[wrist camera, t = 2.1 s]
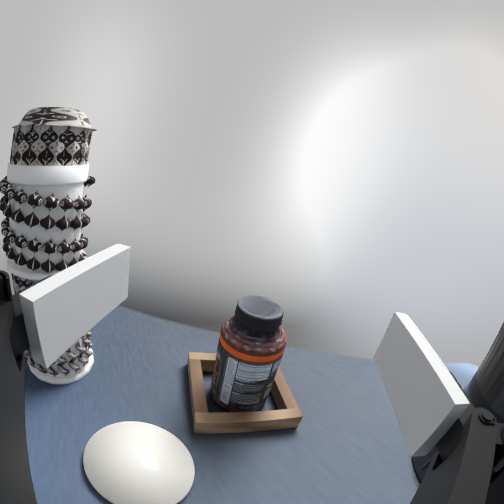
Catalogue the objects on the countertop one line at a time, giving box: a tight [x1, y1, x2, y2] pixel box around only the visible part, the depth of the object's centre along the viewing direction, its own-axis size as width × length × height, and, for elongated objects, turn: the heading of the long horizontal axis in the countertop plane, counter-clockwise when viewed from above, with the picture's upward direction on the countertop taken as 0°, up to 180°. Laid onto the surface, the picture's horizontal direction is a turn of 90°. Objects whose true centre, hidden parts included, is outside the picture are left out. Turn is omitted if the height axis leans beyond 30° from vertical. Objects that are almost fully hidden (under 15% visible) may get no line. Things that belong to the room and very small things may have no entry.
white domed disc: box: [83, 421, 195, 504], centre depth 16 cm, size 9×9×1 cm
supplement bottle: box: [211, 295, 286, 412], centre depth 25 cm, size 6×6×11 cm
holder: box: [188, 352, 303, 433], centre depth 27 cm, size 10×10×2 cm
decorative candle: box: [0, 107, 96, 384], centre depth 20 cm, size 9×9×25 cm
